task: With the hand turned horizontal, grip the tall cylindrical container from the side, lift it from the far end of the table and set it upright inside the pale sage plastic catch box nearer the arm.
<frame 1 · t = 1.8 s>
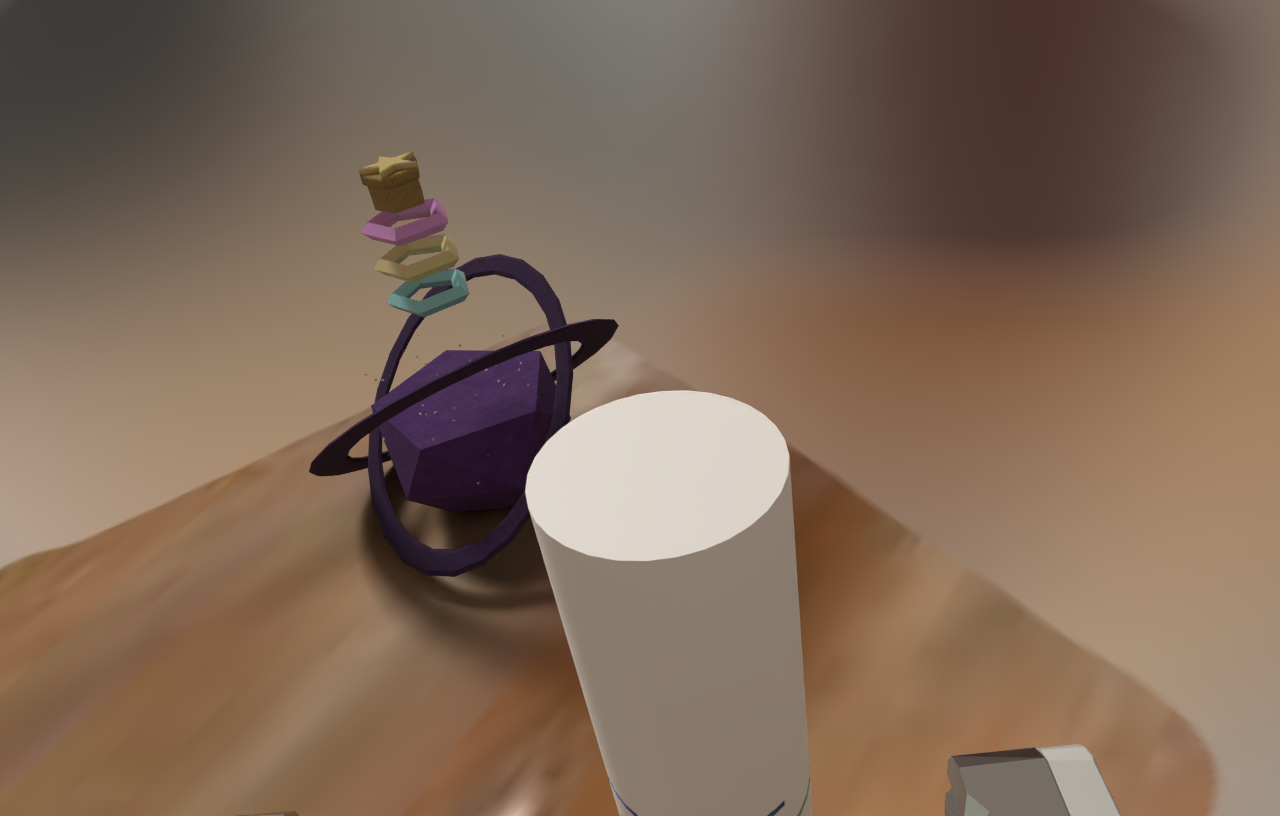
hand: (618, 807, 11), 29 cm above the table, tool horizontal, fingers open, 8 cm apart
decorative bottle: (494, 488, 64), on the table
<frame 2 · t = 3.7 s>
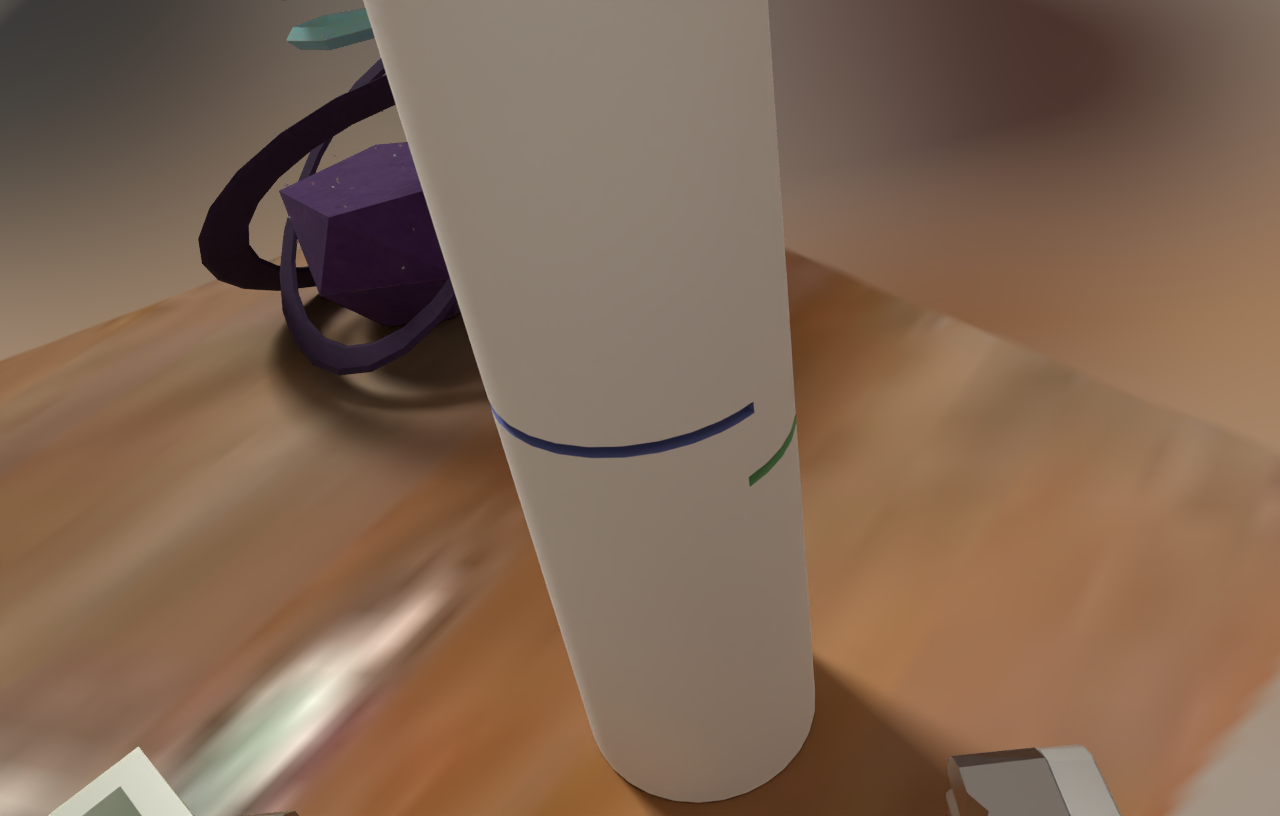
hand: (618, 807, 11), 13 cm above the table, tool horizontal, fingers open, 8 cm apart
decorative bottle: (433, 305, 55), on the table
cylindrical container: (701, 699, 27), on the table
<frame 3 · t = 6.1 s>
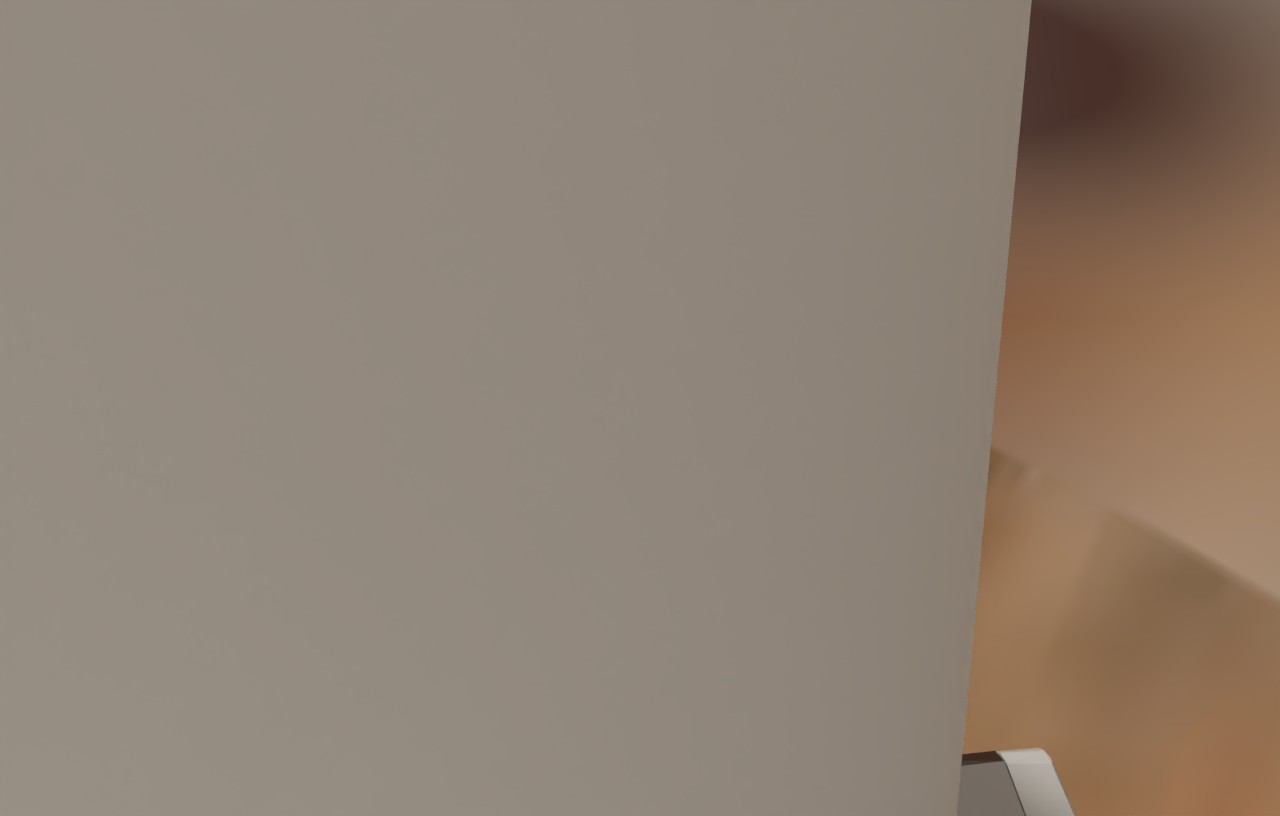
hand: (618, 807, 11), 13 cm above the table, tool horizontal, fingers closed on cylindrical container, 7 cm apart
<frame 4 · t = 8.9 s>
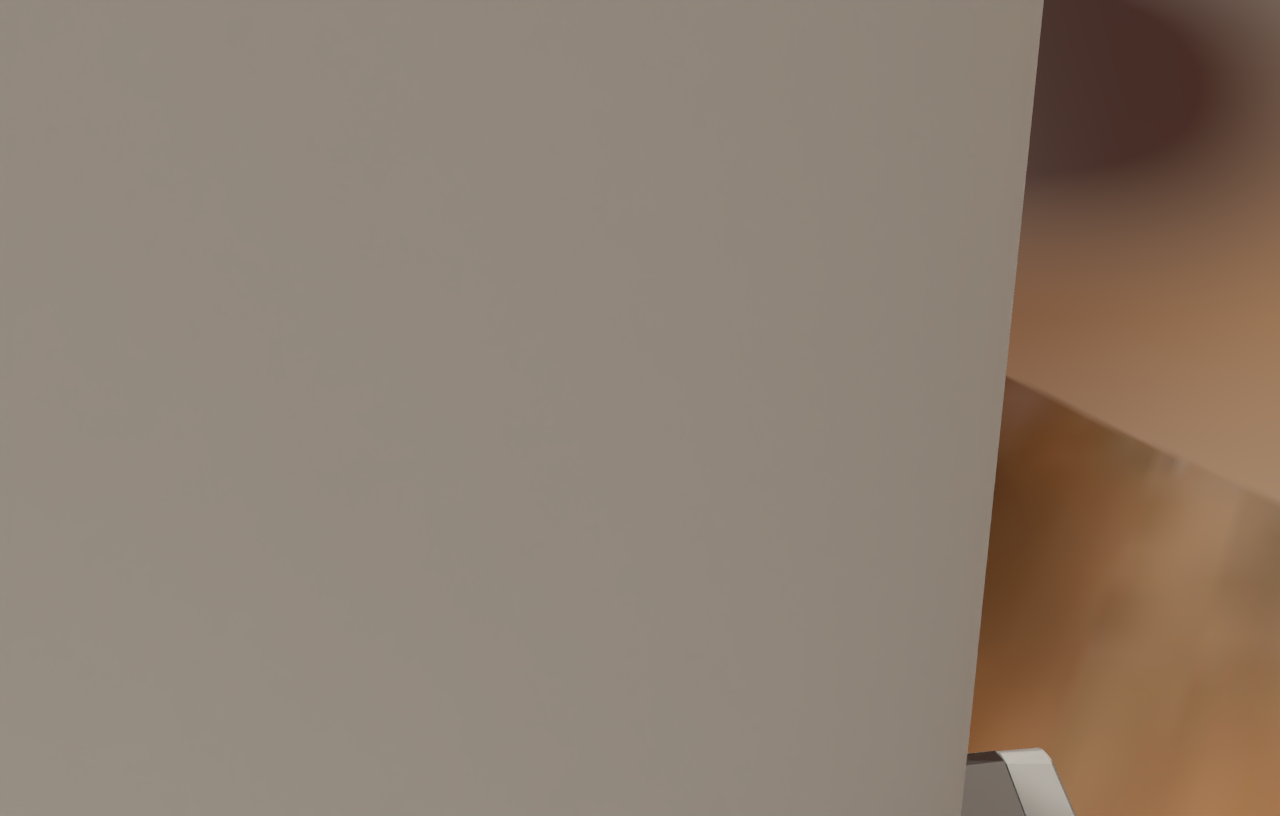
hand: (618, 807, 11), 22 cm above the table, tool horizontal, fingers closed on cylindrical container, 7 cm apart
when the fingers open (15 cm above the table, at t = 11.5 s): cylindrical container stays where it is, resting on catch box.
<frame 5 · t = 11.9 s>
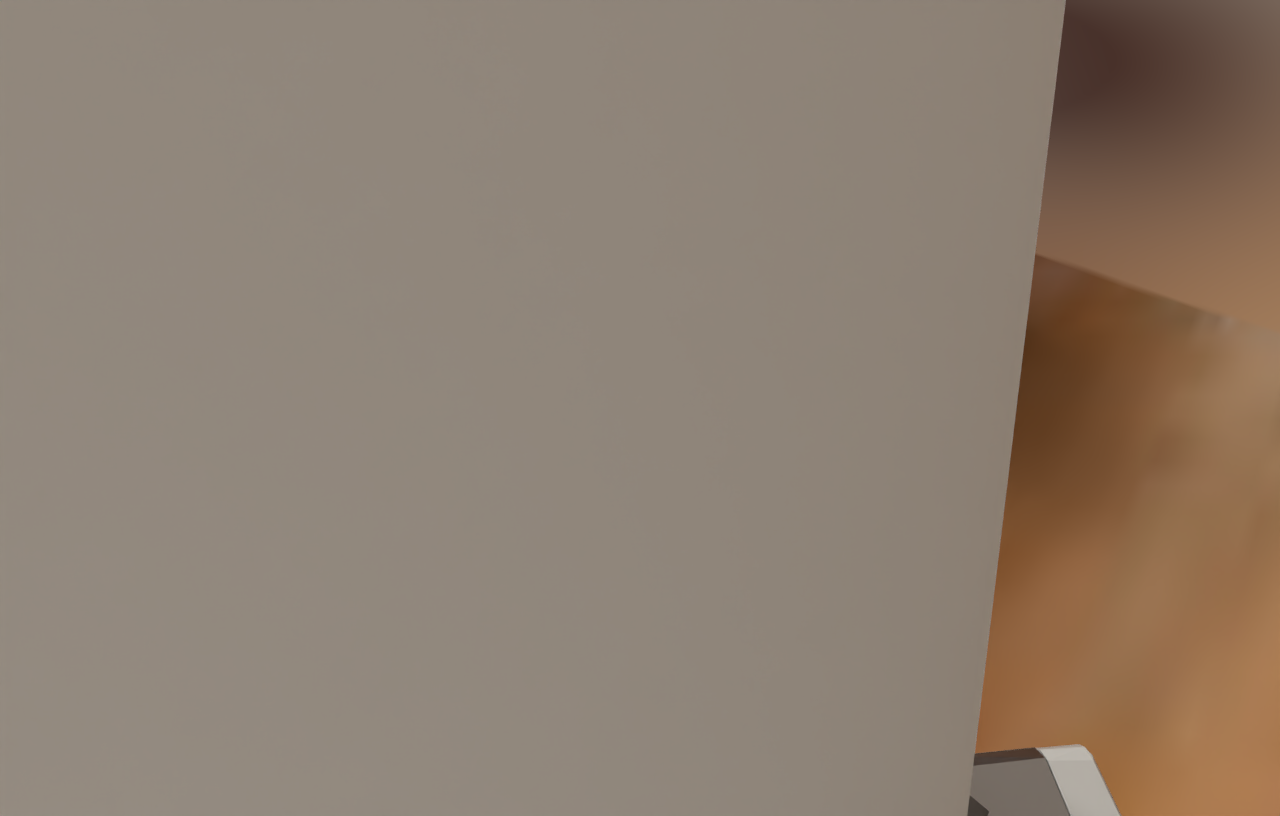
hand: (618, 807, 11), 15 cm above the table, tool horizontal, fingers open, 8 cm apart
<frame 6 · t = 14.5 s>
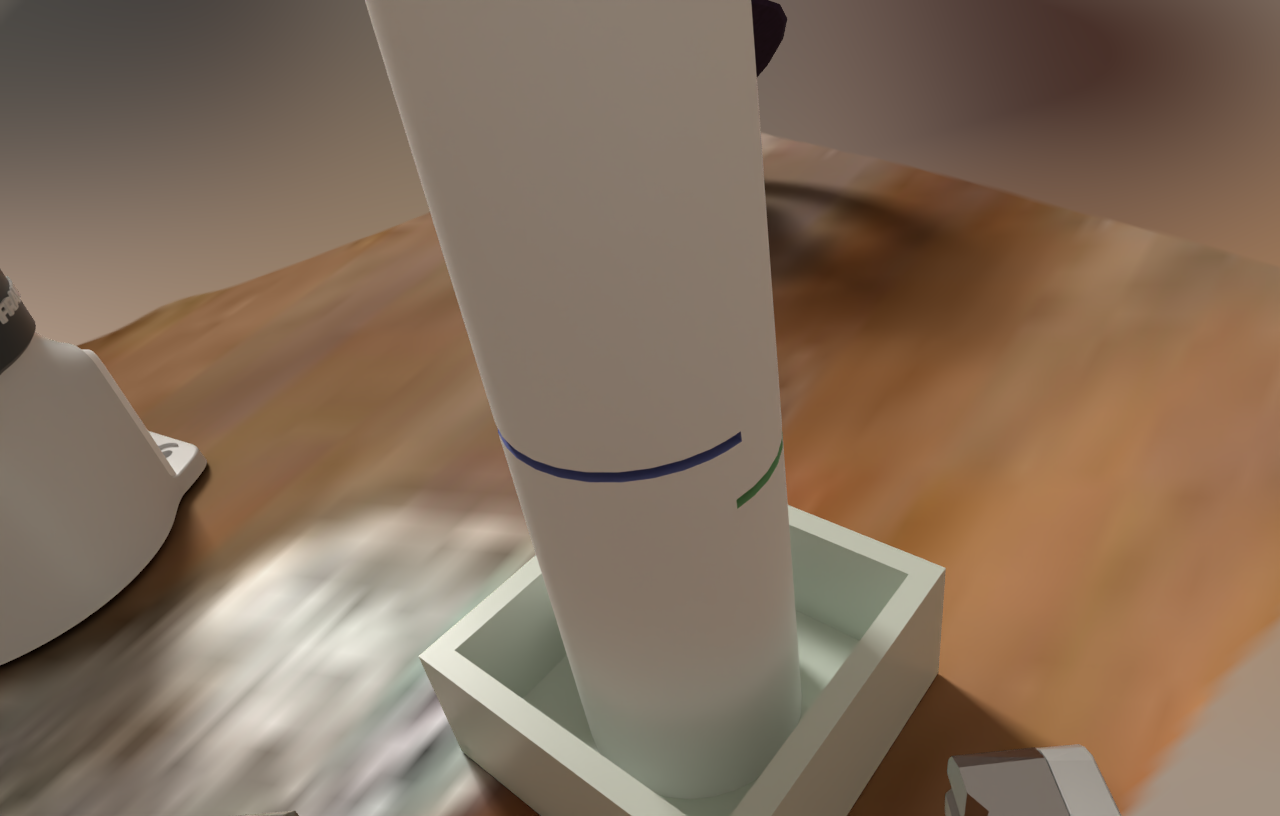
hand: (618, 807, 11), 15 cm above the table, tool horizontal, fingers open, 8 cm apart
decorative bottle: (648, 223, 65), on the table
cylindrical container: (694, 701, 29), point 1 cm above the table, touching catch box
catch box: (698, 712, 29), on the table
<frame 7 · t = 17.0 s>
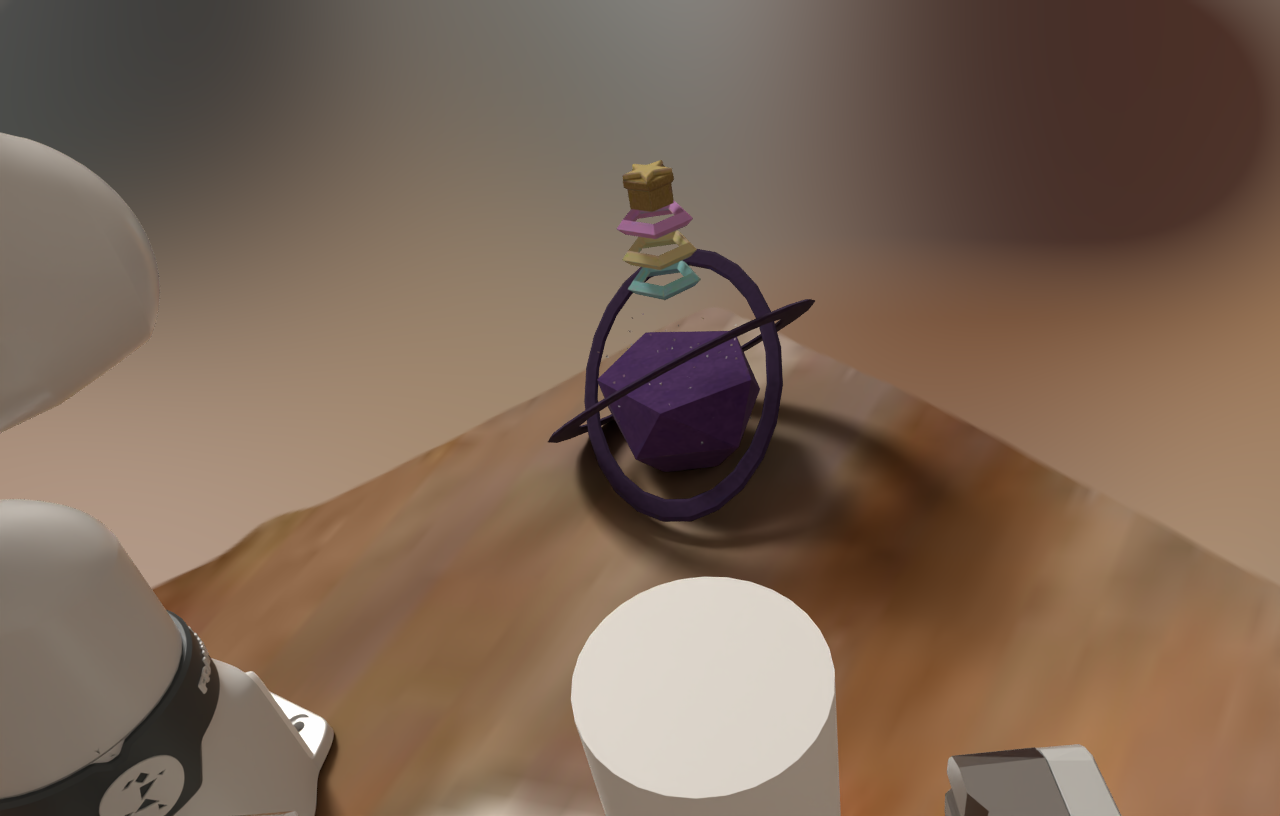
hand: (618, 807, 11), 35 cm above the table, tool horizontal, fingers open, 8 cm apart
decorative bottle: (690, 451, 74), on the table
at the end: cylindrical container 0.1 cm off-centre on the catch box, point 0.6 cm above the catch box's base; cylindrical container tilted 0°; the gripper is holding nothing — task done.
